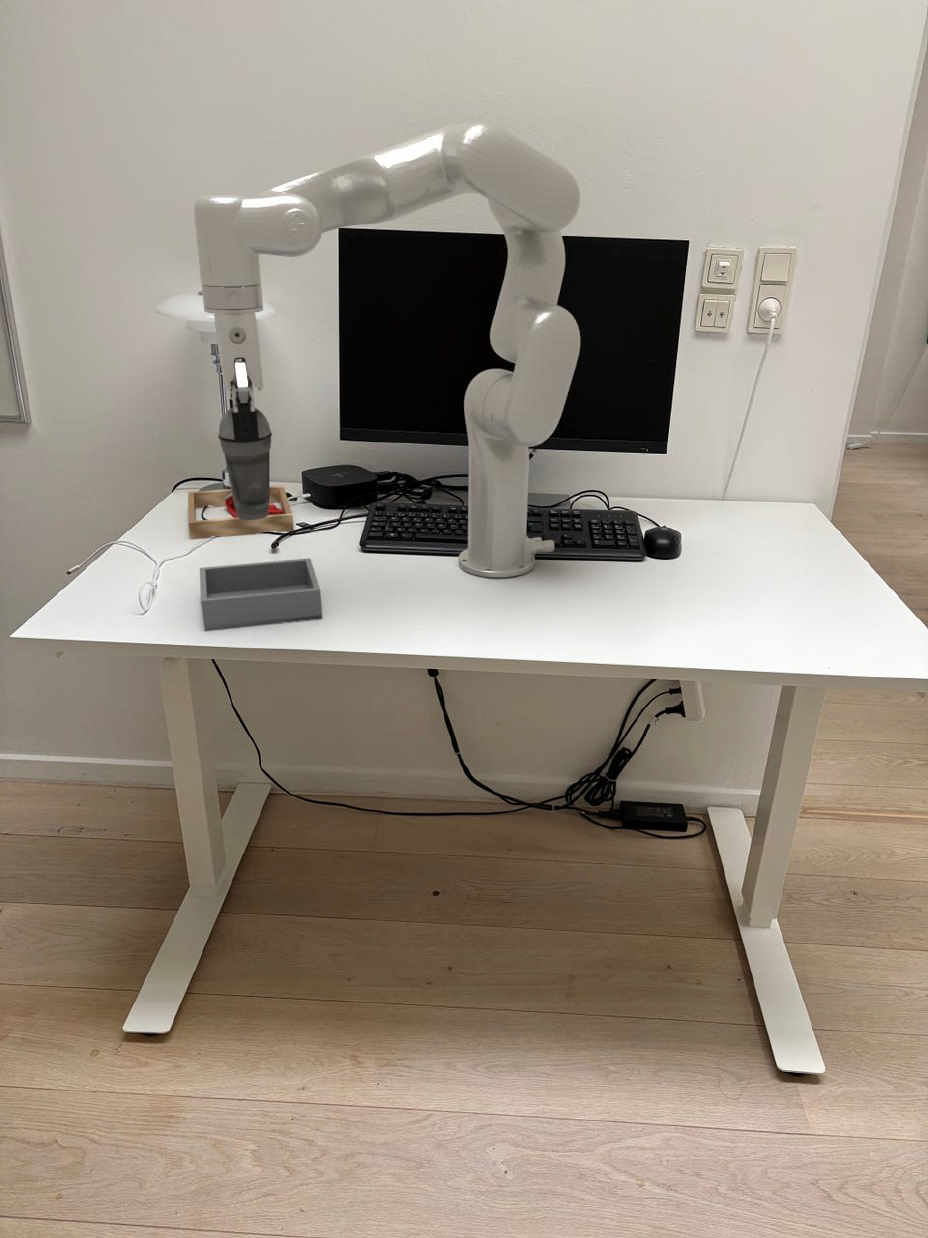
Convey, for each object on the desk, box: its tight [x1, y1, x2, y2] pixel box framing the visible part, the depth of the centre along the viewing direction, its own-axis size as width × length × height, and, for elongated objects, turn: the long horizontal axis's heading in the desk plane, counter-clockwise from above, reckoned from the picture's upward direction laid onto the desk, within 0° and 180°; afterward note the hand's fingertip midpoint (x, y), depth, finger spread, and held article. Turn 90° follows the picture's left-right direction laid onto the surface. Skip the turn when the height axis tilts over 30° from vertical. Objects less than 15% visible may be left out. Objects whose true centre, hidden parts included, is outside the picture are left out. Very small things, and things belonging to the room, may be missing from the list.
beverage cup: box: [217, 378, 273, 520], centre depth 133 cm, size 7×7×20 cm
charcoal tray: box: [199, 558, 323, 632], centre depth 142 cm, size 17×13×5 cm
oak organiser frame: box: [187, 485, 295, 540], centre depth 178 cm, size 18×18×3 cm
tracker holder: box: [223, 493, 283, 518], centre depth 179 cm, size 12×4×10 cm
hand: (245, 433), depth 132 cm, fingers closed on beverage cup, 7 cm apart
